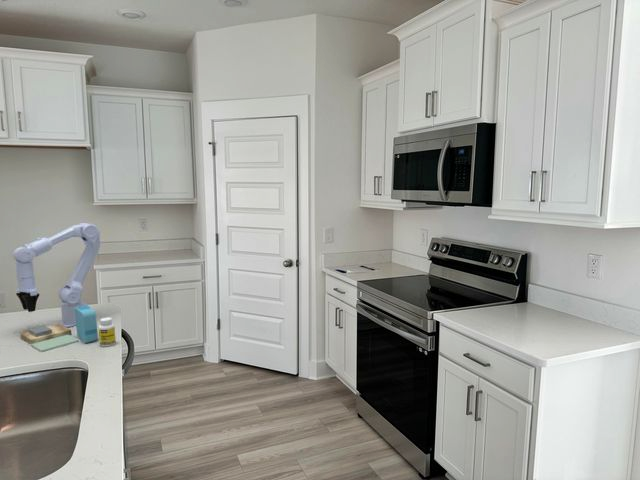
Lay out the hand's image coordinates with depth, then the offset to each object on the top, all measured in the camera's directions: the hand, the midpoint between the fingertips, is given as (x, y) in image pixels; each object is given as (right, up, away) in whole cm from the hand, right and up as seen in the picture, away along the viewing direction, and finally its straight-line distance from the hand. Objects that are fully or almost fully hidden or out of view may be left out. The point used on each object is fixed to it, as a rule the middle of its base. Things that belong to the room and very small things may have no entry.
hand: (29, 310), depth 178 cm
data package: (+27, -10, -6) cm, 29 cm away
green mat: (+17, -11, -11) cm, 23 cm away
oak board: (+9, -10, -3) cm, 14 cm away
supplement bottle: (+37, -11, -12) cm, 41 cm away
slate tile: (+7, -8, -5) cm, 12 cm away
